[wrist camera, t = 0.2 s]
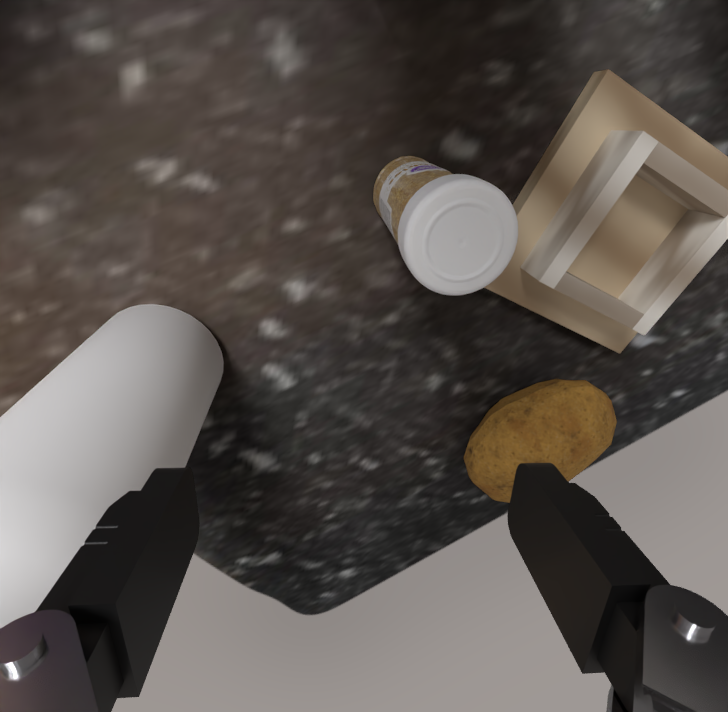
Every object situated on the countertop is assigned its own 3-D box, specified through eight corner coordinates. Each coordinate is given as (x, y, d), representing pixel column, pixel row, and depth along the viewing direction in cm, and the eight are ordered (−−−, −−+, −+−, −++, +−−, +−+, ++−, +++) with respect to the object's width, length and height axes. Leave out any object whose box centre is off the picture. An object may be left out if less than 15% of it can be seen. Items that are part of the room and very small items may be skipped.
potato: (431, 426, 38) (452, 483, 32) (555, 336, 34) (604, 381, 28) (488, 479, 41) (516, 539, 35) (605, 402, 38) (658, 455, 32)
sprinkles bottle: (429, 144, 27) (512, 159, 15) (446, 214, 29) (530, 276, 17) (361, 170, 27) (389, 205, 15) (383, 238, 29) (422, 314, 17)
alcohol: (78, 322, 30) (-1497, 1576, 4) (190, 282, 30) (-859, 1500, 3) (146, 415, 35) (-420, 1328, 8) (245, 382, 34) (-31, 1270, 8)
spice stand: (593, 72, 25) (642, 62, 22) (744, 180, 29) (809, 189, 25) (468, 276, 31) (489, 298, 27) (608, 345, 35) (644, 373, 31)
